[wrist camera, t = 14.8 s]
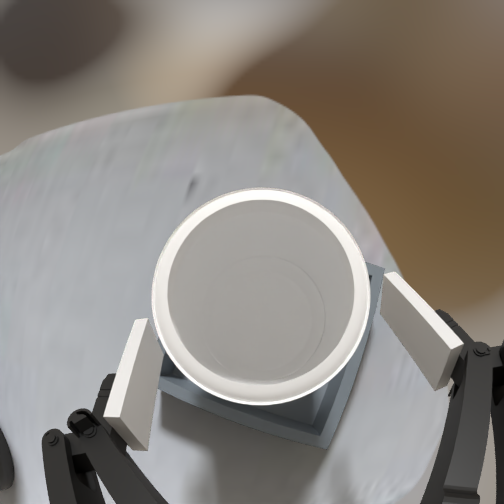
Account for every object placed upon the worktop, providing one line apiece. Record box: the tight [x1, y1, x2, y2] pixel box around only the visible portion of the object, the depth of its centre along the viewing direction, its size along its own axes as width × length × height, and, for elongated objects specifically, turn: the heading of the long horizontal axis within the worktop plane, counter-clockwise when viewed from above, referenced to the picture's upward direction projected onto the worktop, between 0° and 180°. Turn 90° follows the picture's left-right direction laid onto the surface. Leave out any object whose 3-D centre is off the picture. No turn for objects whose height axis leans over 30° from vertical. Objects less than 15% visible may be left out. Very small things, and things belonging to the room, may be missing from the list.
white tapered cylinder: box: [152, 188, 370, 405], centre depth 20 cm, size 11×10×15 cm
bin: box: [157, 262, 385, 449], centre depth 25 cm, size 16×16×5 cm
